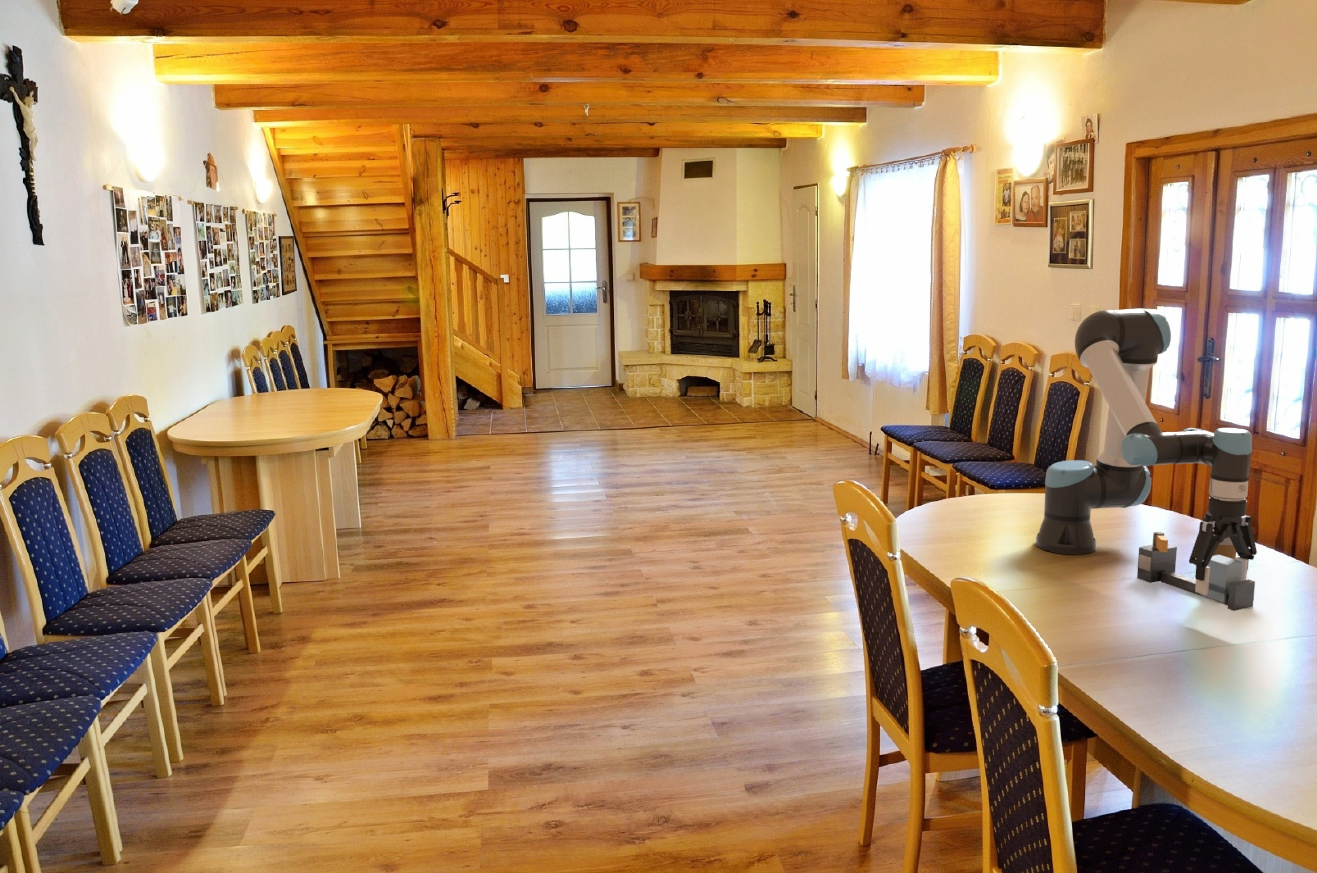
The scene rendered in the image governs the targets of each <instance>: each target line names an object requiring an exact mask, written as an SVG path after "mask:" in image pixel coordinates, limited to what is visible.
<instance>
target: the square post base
mask: <svg viewBox="0 0 1317 873" xmlns="http://www.w3.org/2000/svg"><path fill="white" fill-rule="evenodd" d="M1255 586H1256V581H1255V580H1252V579H1249V578H1247V579H1246V580H1243V581H1238V582H1234V583H1230V586H1229V598H1228V605H1227V610H1230V611H1233V612H1236V611H1240V610H1245V609H1249V608H1254V598H1255V588H1256V587H1255Z"/></svg>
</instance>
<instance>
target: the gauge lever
mask: <svg viewBox="0 0 1317 873" xmlns="http://www.w3.org/2000/svg"><path fill="white" fill-rule="evenodd" d="M1152 536H1153V537H1152V545H1153V546H1154V547H1156V548H1157V549H1158V550H1159V551H1160V552H1167V548H1168V544H1169V540H1168V538H1166V536H1165V533H1164V532H1161V531H1155V532H1153V534H1152Z"/></svg>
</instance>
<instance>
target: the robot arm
mask: <svg viewBox="0 0 1317 873" xmlns="http://www.w3.org/2000/svg"><path fill="white" fill-rule="evenodd" d="M1076 330H1077V331H1076V332H1075V336H1074V349H1075V353H1076V357H1077V358H1078V361H1079V362H1080V364H1081V365H1082V366H1083V367H1085V368H1086V369H1088V370H1089V372H1090V374H1091V375H1092V377H1093V379H1094V381H1095V383H1096V384H1097V386H1098V389H1099V390H1100V392H1101V395H1102V396H1103V398H1104V400H1105V401H1106V404H1107V406H1108V409H1107V410H1108V412H1107V418H1106V419H1107V421H1106V428H1105V437H1104V438H1105V439H1104V444H1103V446H1104V447H1103V451H1102V452H1100V454H1098V455H1097V456H1096V462H1095V465H1093V462H1090V461H1087V460H1083V459H1077V460H1072V459H1071V460H1063V461H1058V462H1054V463H1053V464H1051V465H1050V466H1048V468H1047V469H1046V474H1045V480H1044V484H1045V486H1044V487H1045V488H1044V510H1043V511H1044V512H1043V513H1044V515H1043V520H1042V522H1041V524H1040V527H1039V532H1038V533H1037V535H1036V539H1035V544H1036V546H1037V548H1039V549H1041V550H1044V551H1046V552H1051V553H1055V554H1061V555H1062V554H1063V555H1087V554H1091V553H1093V552H1095V551H1096V547H1097V540H1096V538H1095V536H1094V532H1093V531H1094V530H1093V527H1092V523H1091V512H1092V511H1091V510H1097V509H1098V510H1099V509H1115V508H1119V509H1121V508H1123V509H1126V508H1129V507H1130V508H1131V507H1137V506H1139V505H1141V504H1142V503H1143V502H1145V501H1146V499H1147V498H1148V496H1149V494H1150V492H1151V488H1152V477H1150V476H1151V472H1150V470H1149V468H1148V467H1151V466H1160V465H1164V466H1165V465H1185V464H1188V465H1189V464H1203V465H1206V466H1209V467H1210V476H1209V477H1210V480H1209V490H1208V494H1209V495H1210V496H1209V497H1208V505H1207V512H1208V511H1209V513H1210V514H1211V515H1212V517H1211V520H1210V522H1203V520H1202V521H1200V523H1199V527H1198V533H1197V535H1196V539H1195V542H1194V544H1193V548H1192V551H1191V553H1190V556H1189V560H1188V563H1189V564H1192V565H1195V574H1194V575H1195V576H1194V577H1195V580H1196V587H1195V592H1198V593H1200V594H1203V595H1208V588H1209V576H1210V567H1208V566H1207V565H1208V564H1209V562H1210V560H1211V558H1212V556H1213V555H1214V553H1215V551H1216V549H1217V547H1218V545H1219V544H1220V542H1223V540H1224V539H1225V538H1228V537H1230V539H1231V541H1232V544H1233V546H1234V548H1235V550H1236V555H1237V556H1236V557H1235V560H1238V561H1241V562H1243V564H1242V576H1241V581H1243V580H1247V575H1248V571H1249V570H1248V569H1249V561H1250V560H1251V561H1253V560H1254V558H1255V556H1256V555H1257V553H1258V552H1257V546H1256V542H1255V536H1254V533H1253V532H1254V531H1253V526H1252V525H1253V524H1252V523H1253V518H1252V516H1250V515H1246V514H1247V508H1248V507H1247V506H1248V500H1247V499H1246V498H1248V492H1249V491H1248V490H1249V481H1250V480H1249V479H1250V472H1251V471H1250V470H1251V462H1252V461H1251V460H1252V452H1253V435H1252V433H1251V431H1249V430H1247V429H1244V428H1238V427H1221V428H1217V429H1216V430H1214V432H1212V431H1210V430H1209V431H1208V430H1206V429H1203V428H1194V427H1188V428H1185V429H1183V430H1181V431H1167V432H1163V431H1162V429H1161V428H1160V426H1159V424H1158V422H1157V421H1156V419H1155V417H1154V416H1153V414H1152V412H1151V411H1150V408H1149V406H1148V405H1147V403H1146V400H1147V399H1146V398H1147V394H1148V392H1147V391H1148V384H1149V377H1150V369H1151V368H1153V367H1154V366H1155V365H1156V364H1158V357H1159V355H1161V354H1163V353H1165V352H1166V351H1167V350H1168V349H1169V347H1170V345H1171V340H1172V334H1171V333H1172V332H1171V327H1170V324H1169V321H1168V320H1167V317H1166V316H1165V315H1164V314H1163V313H1162V312H1161V311H1159V310H1158V309H1154V308H1153V309H1151V308H1130V309H1128V308H1127V309H1113V310H1112V309H1104V310H1098V311H1095V312H1093V313H1091V314H1089V315H1088V316H1087V317H1086V318H1084V319H1083V320H1082V322H1081V323H1080V324H1079V326H1078V327H1077V329H1076ZM1213 534H1215V536H1214V535H1213ZM1203 560H1204V561H1203Z"/></svg>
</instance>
